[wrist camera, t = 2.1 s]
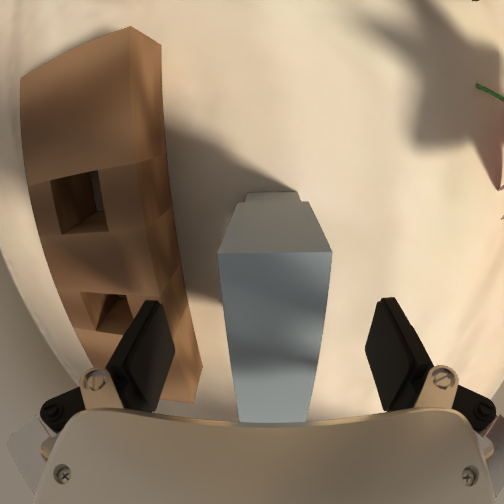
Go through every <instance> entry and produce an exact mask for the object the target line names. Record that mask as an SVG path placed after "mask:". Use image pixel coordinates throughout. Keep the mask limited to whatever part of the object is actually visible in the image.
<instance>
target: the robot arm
mask: <svg viewBox="0 0 504 504" xmlns="http://www.w3.org/2000/svg"><path fill="white" fill-rule="evenodd" d="M365 352H366V356H367V359H368V362H369V365H370V368H371V371H372V374H373V377H374V380H375V384H376V387H377V390H378V394H379V397H380V400H381V404H382V407H383V410H384V411H387V412H385V413H379V414H372V415H365V416H358V417H351V418H342V419H333V420H322V421H307V422H282V423H253V422H229V421H214V420H202V419H193V418H184V417H177V416H169V415H162V414H156V413H152V412H154V411H155V410H156V408H157V405H158V402H159V399H160V396H161V393H162V390H163V387H164V384H165V381H166V378H167V375H168V372H169V370H170V367H171V364H172V361H173V358H174V355H175V345H174V342H173V338H172V335H171V332H170V328H169V325H168V321H167V318H166V314H165V310H164V307H163V305H162V304H160V303H159V301H157V300H145V301H144V303H143V305H142V306H141V308H140V310H139V311H138V313H137V315H136V316H135V318H134V320H133V321H132V323H131V325H130V326H129V328H128V329H127V330H126V332H125V333H124V335H123V337H122V339H121V340H120V342H119V344H118V346H117V347H116V349H115V351H114V353H113V355H112V356H111V358H110V360H109V362H108V364H107V366H106V367H105V368H101V367H95V368H91V369H89V370H87V371H86V372H85V373H84V374H83V375H82V376H81V378H80V381H79V383H80V387H77V388H75V389H73V390H71V391H68V392H66V393H64V394H62V395H59V396H57V397H54V398H52V399H50V400H48V401H46V402H45V403H44V404H43V406H42V408H41V411H40V416H39V417H37V416H34V417H33V418H32V419H31V420H29V421H28V422H26V423H25V424H24V425H23V426H21V427H20V428H19V429H17V430H16V431H15V432H14V433H12V434H11V435H10V437H9V439H8V448H9V451H10V453H11V455H12V457H13V459H14V461H15V463H16V464H17V466H18V468H19V470H20V472H21V473H22V475H23V477H24V479H25V480H26V482H27V483H28V485H29V487H30V488H31V490H32V491H33V493H34V495H35V497H34V501H33V504H496V502H495V498H496V497H497V495H498V494H499V492H500V491H501V489H502V488H503V486H504V417H503V416H501V415H499V416H497V415H496V408H495V405H494V404H493V402H492V401H491V400H490V399H488V398H486V397H484V396H482V395H480V394H477V393H475V392H473V391H471V390H469V389H467V388H464V387H462V386H460V385H458V382H459V379H458V375H457V374H456V372H455V371H454V370H453V369H452V368H450V367H448V366H444V365H437V366H434V365H433V363H432V361H431V359H430V357H429V356H428V354H427V352H426V350H425V348H424V346H423V344H422V342H421V340H420V339H419V337H418V335H417V333H416V331H415V329H414V328H413V326H412V325H411V324H410V323H409V321H408V319H407V317H406V316H405V314H404V312H403V310H402V309H401V307H400V305H399V304H398V302H397V300H396V299H395V298H394V297H389V298H382V299H381V301H379V302H377V305H376V309H375V313H374V317H373V321H372V324H371V328H370V332H369V335H368V338H367V342H366V345H365Z"/></svg>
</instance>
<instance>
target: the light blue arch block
mask: <svg viewBox="0 0 504 504" xmlns="http://www.w3.org/2000/svg"><path fill="white" fill-rule="evenodd" d="M217 258H218V267H219V276H220V285H221V293H222V302H223V310H224V318H225V326H226V333H227V341H228V348H229V355H230V362H231V369H232V376H233V383H234V389H235V396H236V402H237V408H238V414H239V421H240V422H253V423H282V422H306V419H307V414H308V410H309V405H310V400H311V396H312V391H313V386H314V381H315V375H316V370H317V364H318V359H319V353H320V347H321V341H322V334H323V328H324V321H325V314H326V306H327V298H328V290H329V281H330V272H331V262H332V250H331V248H330V246H329V244H328V241H327V239H326V237H325V235H324V233H323V231H322V229H321V226H320V224H319V222H318V220H317V218H316V216H315V214H314V212H313V210H312V208H311V206H310V204H309V202H301V200H300V197H299V195H298V193H297V192H249V193H247V196H246V199H245V202H239V203H237V206H236V208H235V210H234V213H233V215H232V218H231V220H230V223H229V225H228V227H227V230H226V232H225V235H224V237H223V240H222V242H221V245H220V247H219V250H218V252H217Z"/></svg>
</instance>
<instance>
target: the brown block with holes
mask: <svg viewBox="0 0 504 504" xmlns="http://www.w3.org/2000/svg"><path fill="white" fill-rule="evenodd" d="M20 120H21V137H22V148H23V157H24V165H25V172H26V178H27V184H28V190H29V195H30V200H31V205H32V210H33V214H34V218H35V222H36V226H37V230H38V234H39V237H40V241H41V244H42V248H43V251H44V254H45V257H46V260H47V263H48V266H49V269H50V272H51V275H52V278H53V281H54V283H55V286H56V289H57V291H58V294H59V296H60V299H61V301H62V303H63V306H64V308H65V311H66V313H67V315H68V317H69V320H70V322H71V324H72V326H73V328H74V330H75V332H76V334H77V336H78V338H79V340H80V342H81V344H82V346H83V348H84V350H85V352H86V354H87V356H88V358H89V359H90V361H91V363H92V365H93V367H94V368H95V367H101V368H105V367H106V366H107V364H108V362H109V360H110V358H111V356H112V355H113V353H114V351H115V349H116V347H117V346H118V344H119V342H120V340H121V339H122V337H123V335H124V333H125V332H126V330H127V329H128V328H129V326H130V325H131V323H132V321H133V320H134V318H135V316H136V315H137V313H138V311H139V310H140V308H141V306H142V305H143V303H144V301H145V300H157V301H159V303H160V304H162V305H163V307H164V310H165V314H166V318H167V321H168V325H169V328H170V332H171V335H172V338H173V342H174V345H175V355H174V358H173V361H172V364H171V367H170V370H169V372H168V375H167V378H166V381H165V384H164V387H163V390H162V393H161V396H160V399H164V400H171V401H178V402H186V403H193V402H194V398H195V394H196V390H197V386H198V382H199V378H200V374H201V371H202V367H203V366H202V362H201V358H200V354H199V350H198V346H197V341H196V337H195V332H194V328H193V323H192V319H191V314H190V309H189V304H188V299H187V294H186V289H185V283H184V278H183V272H182V267H181V261H180V255H179V249H178V243H177V236H176V229H175V223H174V215H173V208H172V200H171V192H170V184H169V175H168V165H167V155H166V144H165V131H164V116H163V98H162V71H161V45H160V44H159V43H157V42H156V41H154V40H152V39H151V38H149V37H148V36H146V35H145V34H143V33H141V32H140V31H138V30H136V29H135V28H133V27H131V26H130V27H127V28H124V29H121V30H118V31H115V32H113V33H110V34H107V35H105V36H102V37H99V38H97V39H95V40H92V41H90V42H87V43H85V44H83V45H81V46H78V47H76V48H74V49H72V50H70V51H68V52H66V53H64V54H62V55H60V56H58V57H56V58H54V59H52V60H50V61H49V62H47V63H45V64H43V65H42V66H40V67H38V68H36V69H35V70H33V71H31V72H30V73H28V74H27V75H25V76H23V77H22V78H21V81H20ZM95 170H98V175H99V181H100V188H101V194H102V199H103V205H104V210H105V211H104V212H96V208H95V203H94V198H93V192H92V186H91V180H90V173H89V172H90V171H95ZM118 294H120V295H126V297H127V299H119V297H118Z"/></svg>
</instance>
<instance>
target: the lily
mask: <svg viewBox="0 0 504 504" xmlns="http://www.w3.org/2000/svg"><path fill="white" fill-rule="evenodd" d="M476 87H477V88H479V89H481V90H484V91H486V92H488V93H490V94H491V95H493V96H495V97H497V98H498V99H500V100H502V101H503V102H504V97H502V96H500V95H499V94H497V93H495V92H493V91H492V90H490V89H488V88H486V87H483V86H481V85H479V84H476ZM503 189H504V185H503V186H502V187H501V188H500V189H499V190H498V191H500V190H503ZM502 219H504V215H503V217H502V218H501V220H502Z"/></svg>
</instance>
